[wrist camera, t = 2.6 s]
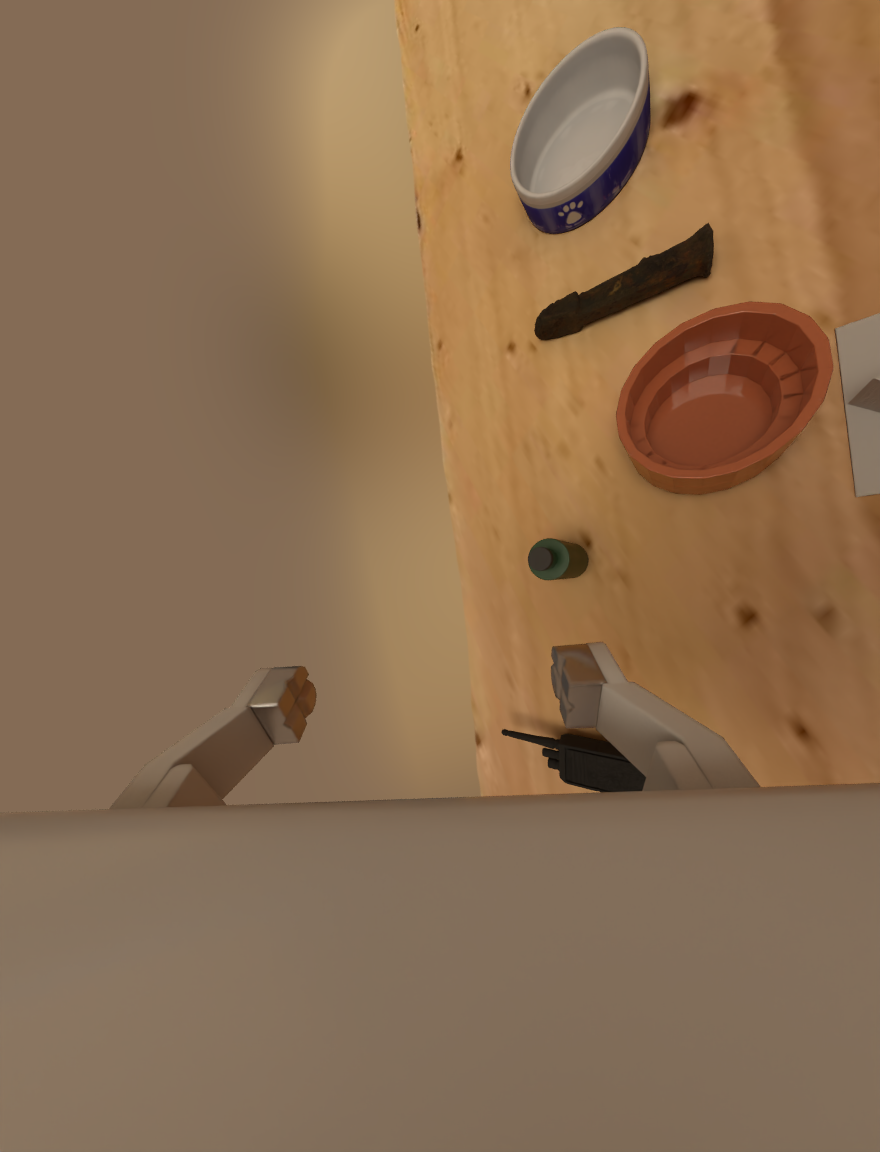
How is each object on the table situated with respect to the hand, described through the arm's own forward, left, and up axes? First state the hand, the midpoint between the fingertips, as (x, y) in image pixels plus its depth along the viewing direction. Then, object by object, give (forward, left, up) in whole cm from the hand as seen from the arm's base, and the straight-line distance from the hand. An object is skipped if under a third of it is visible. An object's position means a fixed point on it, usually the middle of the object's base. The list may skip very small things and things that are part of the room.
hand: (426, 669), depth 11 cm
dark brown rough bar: (-14, -32, -39) cm, 53 cm away
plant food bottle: (+4, -6, -39) cm, 40 cm away
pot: (-15, -13, -39) cm, 44 cm away
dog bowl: (-19, -52, -39) cm, 68 cm away
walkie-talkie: (+13, +18, -39) cm, 45 cm away
